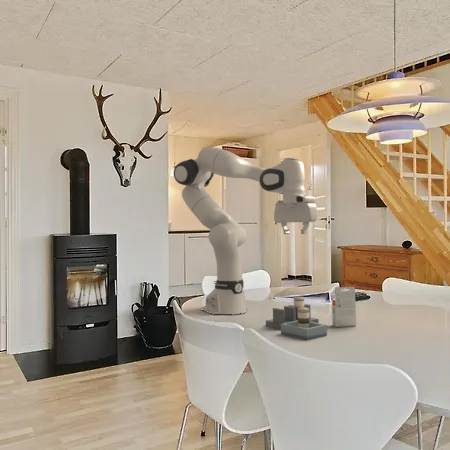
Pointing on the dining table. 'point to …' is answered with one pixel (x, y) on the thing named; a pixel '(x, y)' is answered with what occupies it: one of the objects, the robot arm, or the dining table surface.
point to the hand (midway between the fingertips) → (294, 234)
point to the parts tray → (304, 330)
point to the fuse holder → (286, 316)
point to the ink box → (344, 307)
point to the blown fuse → (303, 317)
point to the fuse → (299, 301)
